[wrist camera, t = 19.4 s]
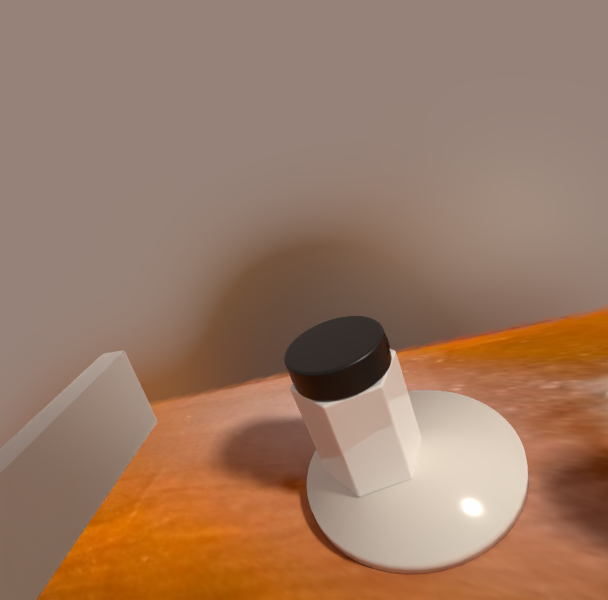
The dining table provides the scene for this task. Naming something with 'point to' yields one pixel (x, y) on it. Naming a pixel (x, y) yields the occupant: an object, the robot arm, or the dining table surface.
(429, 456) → the saucer
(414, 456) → the jar
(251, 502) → the dining table surface
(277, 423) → the dining table surface
